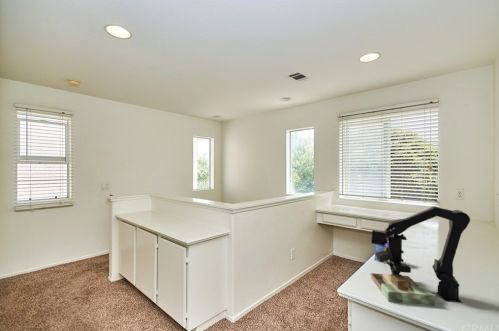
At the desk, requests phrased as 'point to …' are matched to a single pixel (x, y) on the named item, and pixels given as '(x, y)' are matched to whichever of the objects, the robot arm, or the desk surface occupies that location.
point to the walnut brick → (400, 281)
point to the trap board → (403, 291)
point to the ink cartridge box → (380, 249)
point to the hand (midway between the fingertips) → (394, 278)
